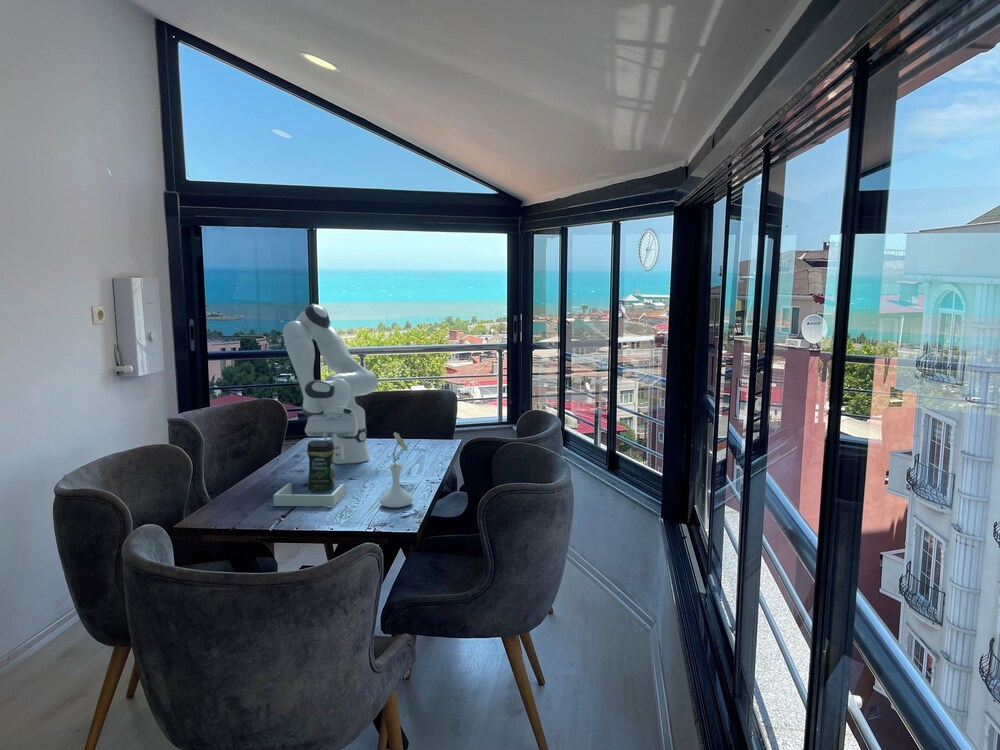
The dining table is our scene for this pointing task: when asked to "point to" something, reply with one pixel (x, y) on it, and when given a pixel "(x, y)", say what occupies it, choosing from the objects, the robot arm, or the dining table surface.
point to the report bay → (306, 498)
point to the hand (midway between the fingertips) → (328, 444)
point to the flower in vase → (396, 483)
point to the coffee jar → (321, 465)
